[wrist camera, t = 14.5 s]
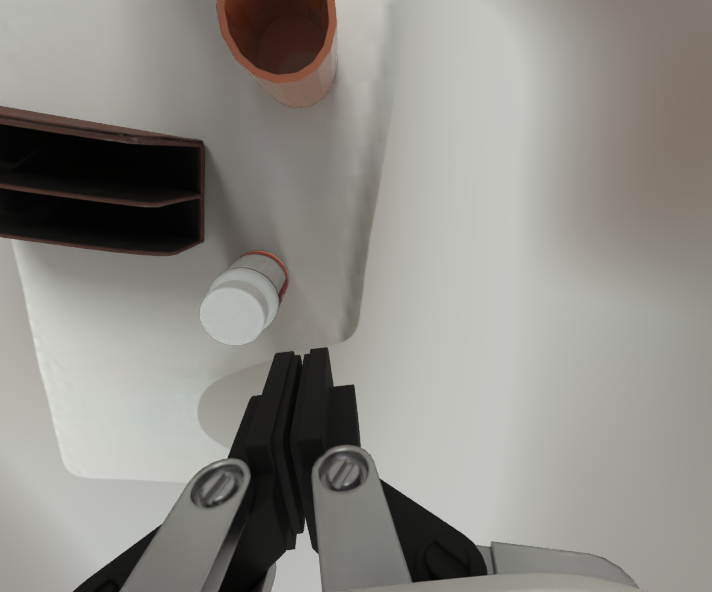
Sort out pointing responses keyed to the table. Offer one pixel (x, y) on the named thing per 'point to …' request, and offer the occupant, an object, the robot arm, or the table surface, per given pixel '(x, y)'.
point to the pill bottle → (244, 298)
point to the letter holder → (99, 185)
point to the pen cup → (284, 45)
